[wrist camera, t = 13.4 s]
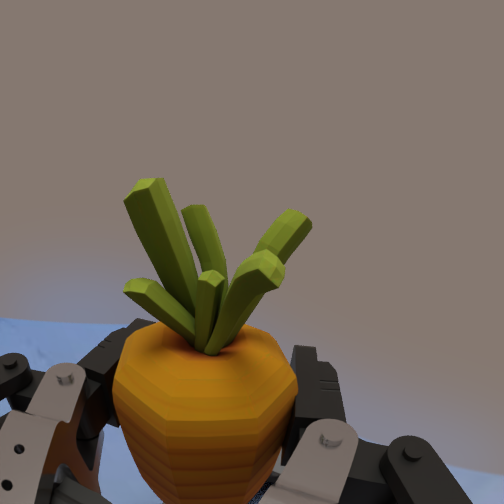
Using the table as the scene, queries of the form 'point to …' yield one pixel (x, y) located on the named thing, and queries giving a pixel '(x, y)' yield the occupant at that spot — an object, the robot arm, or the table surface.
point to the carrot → (203, 357)
